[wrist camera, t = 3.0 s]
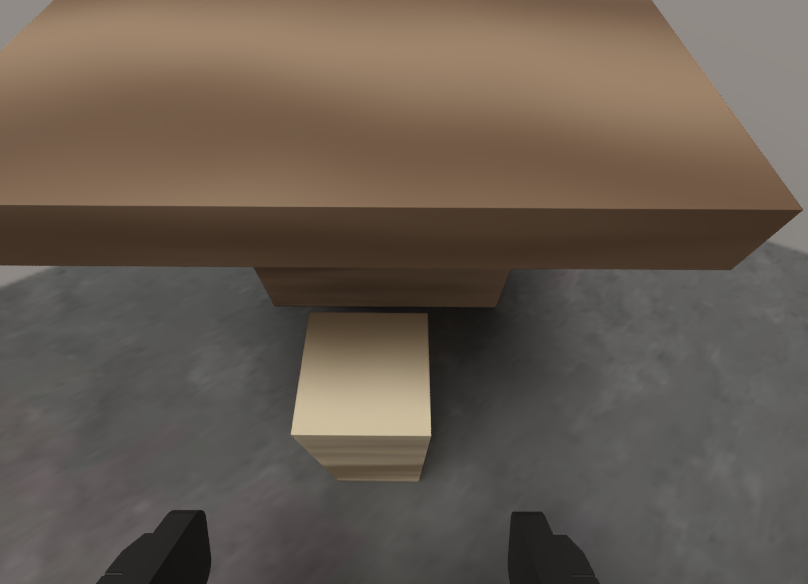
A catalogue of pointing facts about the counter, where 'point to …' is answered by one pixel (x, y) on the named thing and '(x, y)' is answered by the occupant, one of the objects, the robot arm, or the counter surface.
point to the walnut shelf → (373, 145)
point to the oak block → (365, 395)
